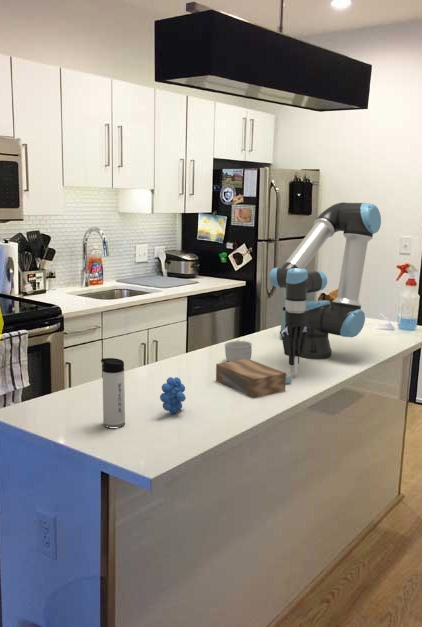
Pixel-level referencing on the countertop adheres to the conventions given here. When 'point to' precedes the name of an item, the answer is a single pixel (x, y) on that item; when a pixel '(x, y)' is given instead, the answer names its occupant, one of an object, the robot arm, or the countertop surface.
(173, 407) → the grapes
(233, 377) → the shelf
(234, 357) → the teacup
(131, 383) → the countertop surface
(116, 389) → the travel mug
